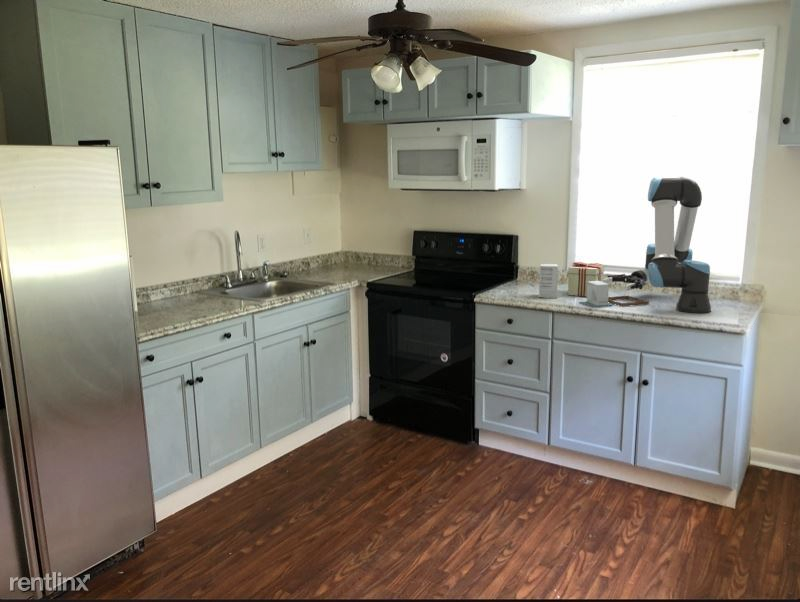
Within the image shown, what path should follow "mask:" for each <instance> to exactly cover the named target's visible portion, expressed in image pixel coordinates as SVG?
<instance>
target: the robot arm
mask: <svg viewBox="0 0 800 602" xmlns="http://www.w3.org/2000/svg"><path fill="white" fill-rule="evenodd" d="M647 201H648V202H649V203H651V207H653V208H654V243H650V244H648V245H647V246H646V252H645V264H644V268H642V269H639V270H635V271H632V273H630V274H628V275H626V273H622V274H614V275H613V274H612V275H610V274H609V275H607V278H603V282H604V283H607V284H612V283H613V282H615V283H616V282H618V283H620V282H622V283H624V284H625V283H628V284H626V285H625V291H626V292H628V291H631V290H635V289H639V290H643V288H644V286H646V284H647V283H649V284H650V285H651V286H652V287H653V288H660V289H663V288H670V289H671V288H673V289H674V288H675V289H681V292H680V295H679V298H678V300H677V303H676V304H675V305H676V306H675V309H676V310H677V311H680V312H684V313H691V314H705V313H706V314H708V313H710V312H711V311H712V305H711V303H710V297H709V289H710V288H709V285H710V275H711V266H710V264H708V263H707V262H702V261H698V260H693V249H692V248H690V245H691V240H692V237H693V231H694V227H695V223H696V218H697V213H698V208H699V207H701V204H702V201H703V195H702V189H701V188H700V186H699V184H698V183H697V181H696V180H694V179H693V178H691V177H689V176H662V175H661V176H655V177H652V179H651V180H650V183H649V187H648V192H647ZM678 202H679V204H680V210H679V216H678V221H677V226H676V230H675V207H676V206H677V205H678Z"/></svg>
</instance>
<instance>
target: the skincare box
mask: <svg viewBox="0 0 800 602" xmlns="http://www.w3.org/2000/svg"><path fill="white" fill-rule="evenodd" d="M609 286H610V283H608V284H607V283H604V282H601V281H588V282H587V297H586V301H587V302H589V303H592V304H594V305H608V297H609V288H610V287H609Z"/></svg>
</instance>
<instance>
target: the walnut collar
mask: <svg viewBox="0 0 800 602" xmlns="http://www.w3.org/2000/svg"><path fill="white" fill-rule="evenodd" d="M616 299H621V300H629V299H631V300H630V301H629V302H620V301H618V300H616ZM633 300H635V301H633ZM631 301H632V302H631ZM637 301H638V302H637ZM649 301H650V300H649ZM649 301H648V300H646V299H642V298H638V297H635V296H631V295H620V296H608V302H609V303H612V304H616V305H615V306H618V305H619V307H621V306H624V307H631V306H630V305H634V306H642V305H641V304H645V305H649V304H650V302H649Z"/></svg>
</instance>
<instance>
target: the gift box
mask: <svg viewBox="0 0 800 602" xmlns="http://www.w3.org/2000/svg"><path fill="white" fill-rule="evenodd" d="M567 269H568V270H567V273H568V285H567V287H568V288H567V292H568V293H567V295H568V296H573V295H575V296H576V297H584V296H585V297H586V298H587V282H588V281H601V282H603V279H604V273H605V266H604V265H602V264H601V263H597V262H592V263H587V264H586V263H584V262H581V261H574V262H573V263H572V265H571V266H570V267H568V268H567Z"/></svg>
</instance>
